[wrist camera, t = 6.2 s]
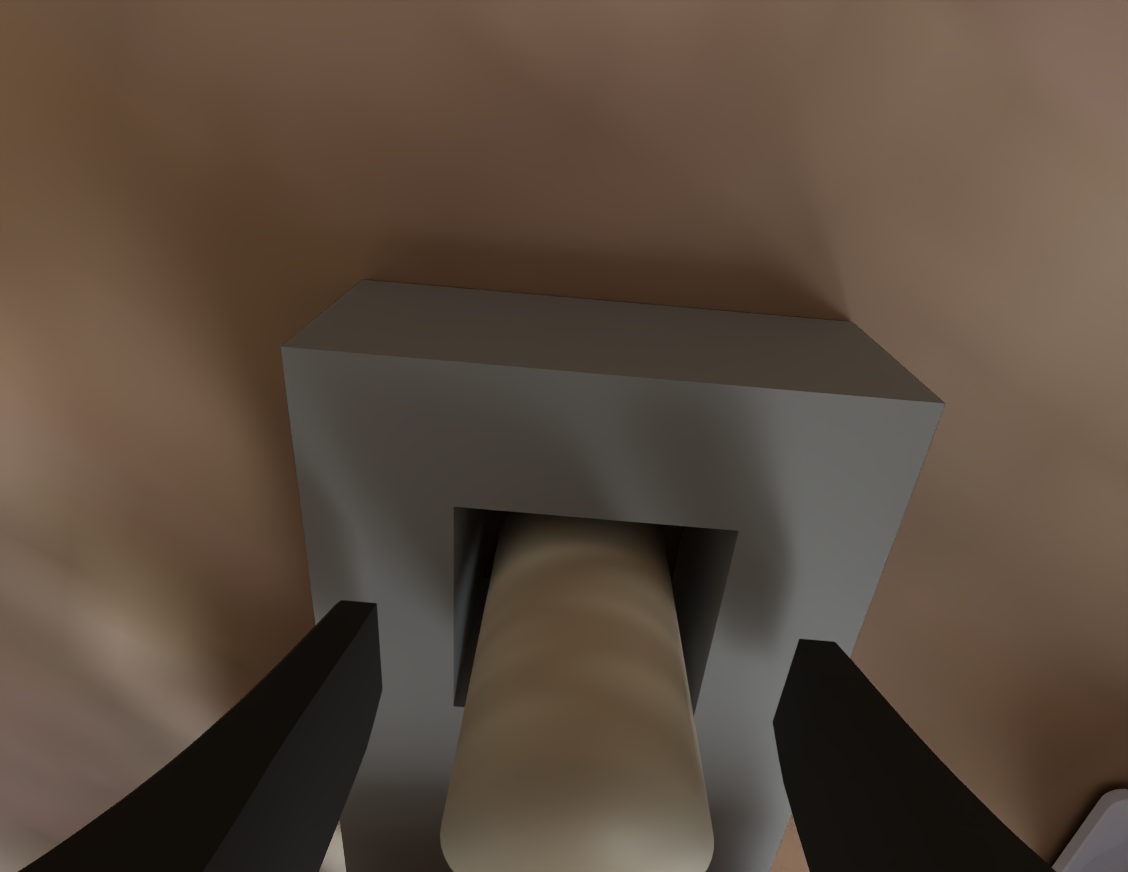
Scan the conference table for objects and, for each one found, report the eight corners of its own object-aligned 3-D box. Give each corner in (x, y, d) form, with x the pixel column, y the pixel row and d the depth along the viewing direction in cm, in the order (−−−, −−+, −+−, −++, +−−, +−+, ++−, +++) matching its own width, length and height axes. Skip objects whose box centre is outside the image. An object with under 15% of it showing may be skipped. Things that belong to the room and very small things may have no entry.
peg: (669, 450, 15) (740, 771, 8) (645, 574, 17) (687, 932, 10) (510, 435, 15) (440, 744, 8) (502, 561, 17) (439, 910, 10)
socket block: (852, 321, 14) (945, 404, 10) (723, 771, 20) (751, 918, 16) (362, 279, 13) (280, 346, 10) (391, 743, 20) (348, 884, 16)
